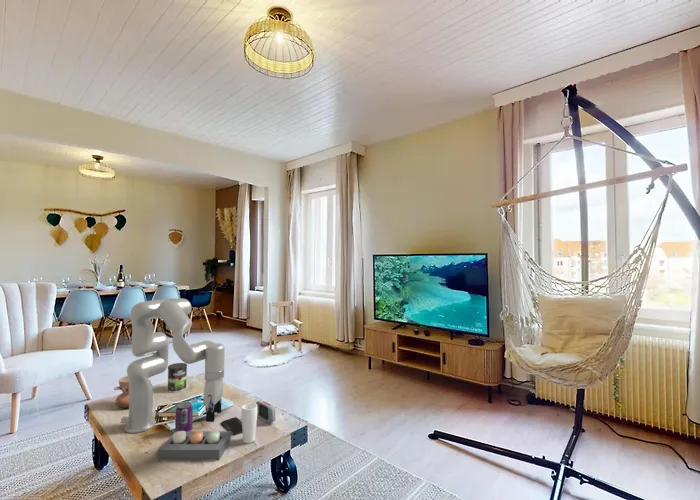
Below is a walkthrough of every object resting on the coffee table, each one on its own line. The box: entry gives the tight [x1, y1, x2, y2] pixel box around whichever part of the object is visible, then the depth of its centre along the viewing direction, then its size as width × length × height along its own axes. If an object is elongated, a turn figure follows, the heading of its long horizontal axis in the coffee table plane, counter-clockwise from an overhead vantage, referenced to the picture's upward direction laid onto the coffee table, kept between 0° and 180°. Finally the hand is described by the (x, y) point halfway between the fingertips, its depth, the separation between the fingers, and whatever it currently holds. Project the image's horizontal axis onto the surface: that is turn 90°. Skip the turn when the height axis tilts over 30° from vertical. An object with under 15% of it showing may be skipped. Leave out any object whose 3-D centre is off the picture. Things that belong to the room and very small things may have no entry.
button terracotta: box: [190, 430, 203, 444], centre depth 142 cm, size 5×5×4 cm
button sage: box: [207, 430, 220, 444], centre depth 142 cm, size 5×5×4 cm
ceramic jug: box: [113, 375, 152, 408], centre depth 184 cm, size 18×14×14 cm
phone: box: [220, 416, 243, 436], centre depth 161 cm, size 8×1×15 cm
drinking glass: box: [240, 402, 258, 444], centre depth 150 cm, size 7×7×15 cm
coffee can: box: [167, 362, 188, 393], centre depth 204 cm, size 10×10×14 cm
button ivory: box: [172, 431, 186, 444], centre depth 142 cm, size 5×5×4 cm
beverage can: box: [174, 401, 194, 432], centre depth 157 cm, size 7×7×12 cm
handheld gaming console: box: [255, 400, 276, 423], centre depth 169 cm, size 14×3×8 cm, turn 49°
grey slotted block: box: [157, 430, 232, 461], centre depth 142 cm, size 24×14×4 cm, turn 91°
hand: (213, 416), depth 142 cm, fingers open, 7 cm apart
